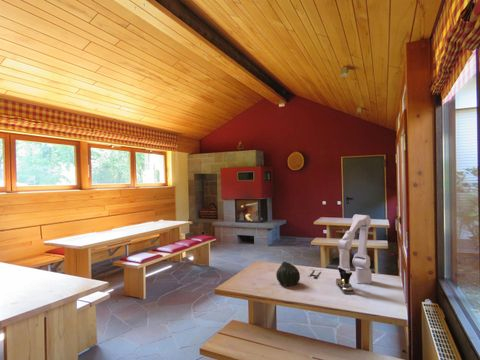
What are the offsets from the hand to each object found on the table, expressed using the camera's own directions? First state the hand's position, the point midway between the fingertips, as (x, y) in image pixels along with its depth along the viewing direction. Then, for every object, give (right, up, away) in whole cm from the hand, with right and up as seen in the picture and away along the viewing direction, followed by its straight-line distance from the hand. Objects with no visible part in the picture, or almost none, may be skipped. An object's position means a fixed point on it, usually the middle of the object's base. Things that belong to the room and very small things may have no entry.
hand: (344, 281), depth 184 cm
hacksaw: (-12, -6, +32) cm, 34 cm away
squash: (-34, -5, +10) cm, 35 cm away
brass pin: (0, -5, 0) cm, 5 cm away
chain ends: (0, -5, 0) cm, 5 cm away
